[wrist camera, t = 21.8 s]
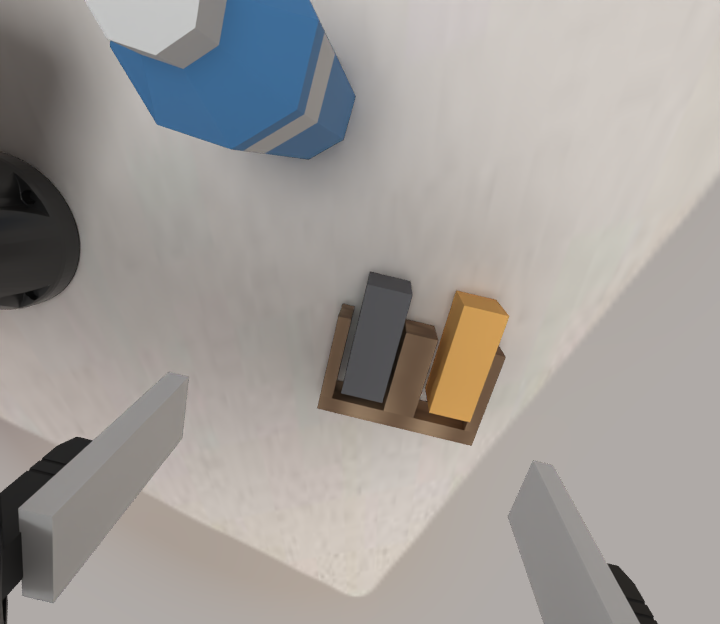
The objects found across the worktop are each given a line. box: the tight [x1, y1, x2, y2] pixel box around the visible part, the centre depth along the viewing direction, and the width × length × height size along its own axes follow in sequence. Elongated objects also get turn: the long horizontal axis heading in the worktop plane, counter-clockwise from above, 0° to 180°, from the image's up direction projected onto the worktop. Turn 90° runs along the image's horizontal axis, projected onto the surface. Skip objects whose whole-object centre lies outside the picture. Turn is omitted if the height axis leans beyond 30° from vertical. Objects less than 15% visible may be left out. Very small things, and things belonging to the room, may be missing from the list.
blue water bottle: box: [84, 0, 356, 159], centre depth 25 cm, size 9×9×25 cm
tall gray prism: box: [341, 272, 412, 403], centre depth 41 cm, size 4×11×5 cm, turn 167°
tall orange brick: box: [425, 291, 509, 422], centre depth 41 cm, size 4×11×5 cm, turn 167°
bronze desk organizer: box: [317, 304, 506, 446], centre depth 42 cm, size 16×10×4 cm, turn 77°
